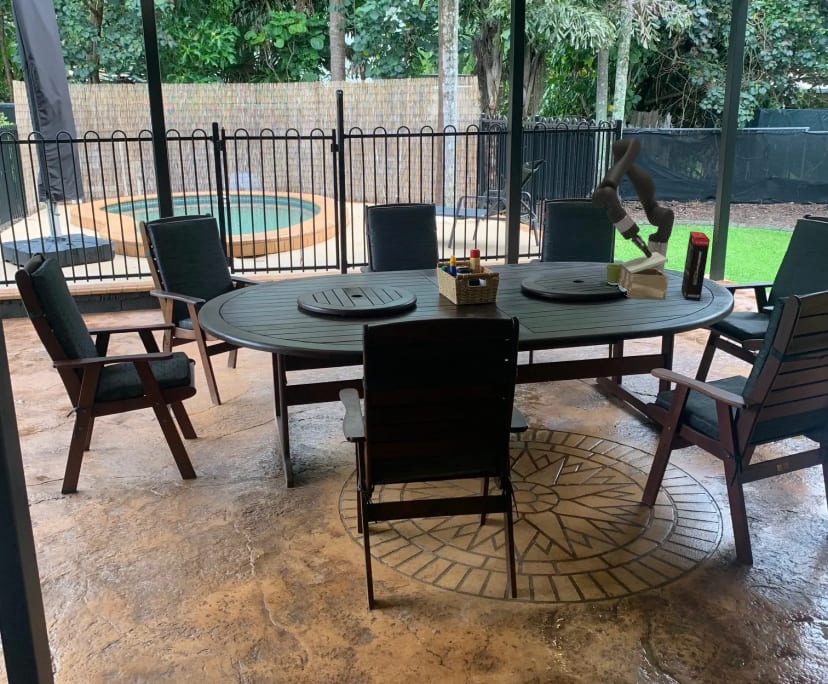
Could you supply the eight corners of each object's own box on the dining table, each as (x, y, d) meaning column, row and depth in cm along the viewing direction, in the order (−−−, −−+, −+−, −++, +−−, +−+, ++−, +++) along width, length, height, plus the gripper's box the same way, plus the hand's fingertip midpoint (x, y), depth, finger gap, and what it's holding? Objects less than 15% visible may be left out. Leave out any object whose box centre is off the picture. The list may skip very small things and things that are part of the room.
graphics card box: (700, 301, 330) (712, 238, 322) (684, 299, 331) (694, 236, 323) (695, 292, 346) (705, 232, 338) (679, 291, 348) (689, 230, 339)
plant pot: (602, 285, 348) (605, 266, 346) (604, 281, 357) (606, 263, 354) (623, 288, 346) (626, 269, 343) (624, 284, 354) (627, 265, 352)
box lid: (619, 266, 341) (618, 263, 341) (656, 254, 340) (656, 251, 340) (629, 274, 327) (628, 271, 326) (668, 261, 325) (667, 258, 325)
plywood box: (617, 288, 345) (621, 266, 342) (653, 290, 345) (656, 268, 342) (627, 297, 329) (631, 274, 326) (664, 299, 330) (668, 276, 327)
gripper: (637, 223, 324) (661, 253, 328) (629, 218, 337) (652, 247, 341) (623, 234, 326) (647, 265, 330) (615, 229, 338) (638, 258, 342)
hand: (649, 256), depth 335 cm, fingers closed
